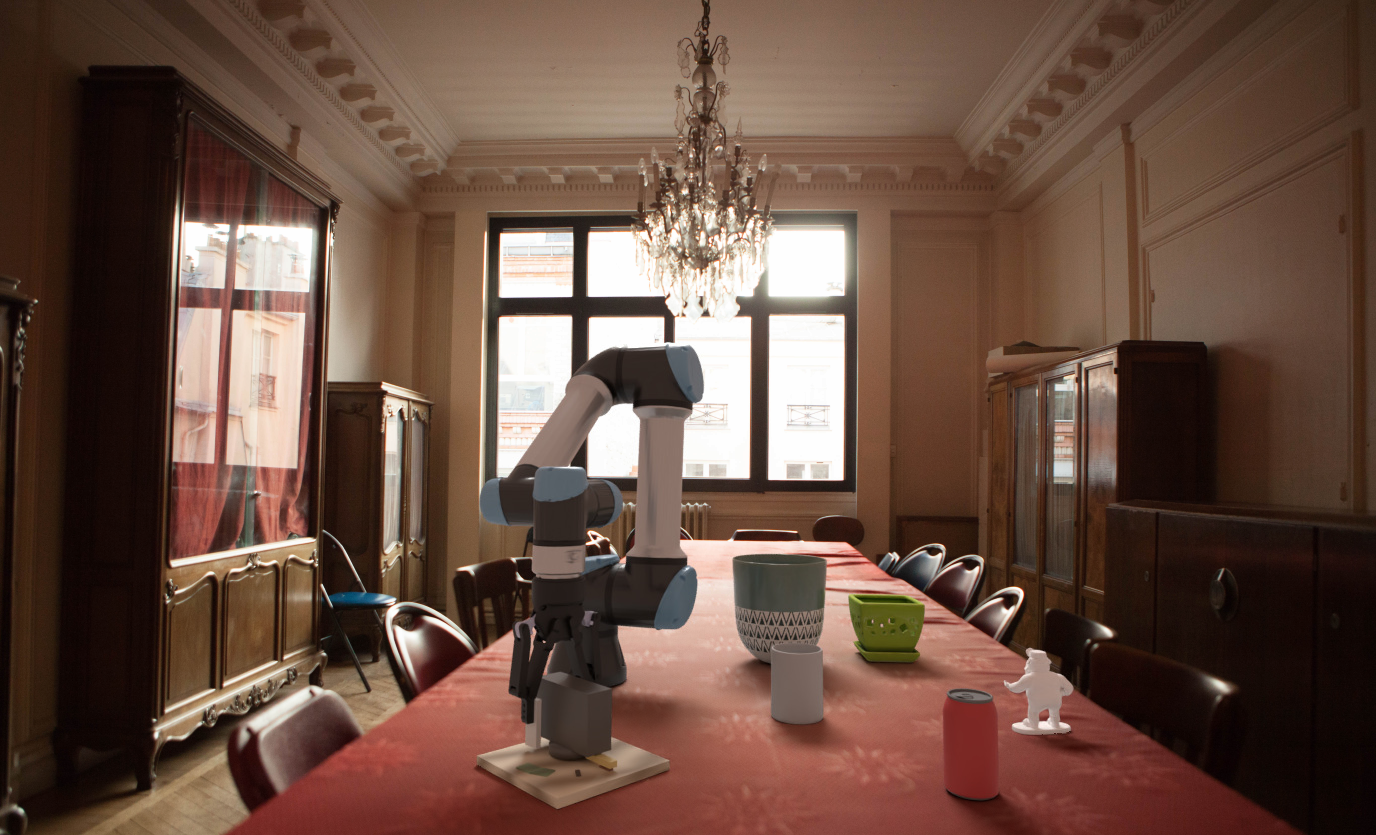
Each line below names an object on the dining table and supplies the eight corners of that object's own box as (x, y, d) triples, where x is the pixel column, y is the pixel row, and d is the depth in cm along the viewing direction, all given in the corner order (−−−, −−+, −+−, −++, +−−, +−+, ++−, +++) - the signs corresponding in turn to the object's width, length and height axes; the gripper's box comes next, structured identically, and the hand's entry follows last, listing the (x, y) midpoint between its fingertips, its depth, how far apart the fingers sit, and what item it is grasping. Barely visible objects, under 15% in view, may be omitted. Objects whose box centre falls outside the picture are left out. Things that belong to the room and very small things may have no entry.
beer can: (935, 781, 101) (934, 687, 102) (984, 780, 102) (982, 686, 103) (956, 803, 95) (955, 702, 96) (1009, 802, 95) (1007, 701, 96)
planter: (765, 678, 151) (765, 566, 153) (714, 656, 169) (715, 556, 170) (847, 667, 160) (846, 561, 162) (791, 647, 178) (790, 552, 179)
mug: (828, 724, 124) (827, 654, 125) (774, 724, 124) (774, 654, 125) (814, 702, 136) (814, 638, 137) (765, 702, 136) (765, 637, 137)
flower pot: (927, 666, 162) (926, 603, 163) (859, 665, 162) (859, 603, 163) (909, 650, 176) (908, 593, 177) (846, 650, 176) (846, 592, 177)
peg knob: (528, 745, 109) (529, 678, 110) (566, 734, 114) (567, 670, 114) (593, 775, 99) (594, 701, 99) (632, 763, 103) (633, 691, 104)
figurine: (1054, 721, 127) (1052, 645, 127) (1079, 734, 120) (1077, 655, 121) (1001, 723, 125) (999, 647, 126) (1024, 737, 119) (1022, 656, 120)
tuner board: (476, 764, 106) (476, 754, 106) (584, 734, 119) (584, 724, 119) (557, 809, 92) (557, 797, 92) (669, 769, 105) (669, 758, 105)
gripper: (512, 584, 102) (508, 765, 101) (629, 571, 116) (627, 730, 114) (483, 578, 108) (478, 749, 106) (598, 566, 121) (595, 718, 120)
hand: (555, 739), depth 110 cm, fingers open, 7 cm apart
